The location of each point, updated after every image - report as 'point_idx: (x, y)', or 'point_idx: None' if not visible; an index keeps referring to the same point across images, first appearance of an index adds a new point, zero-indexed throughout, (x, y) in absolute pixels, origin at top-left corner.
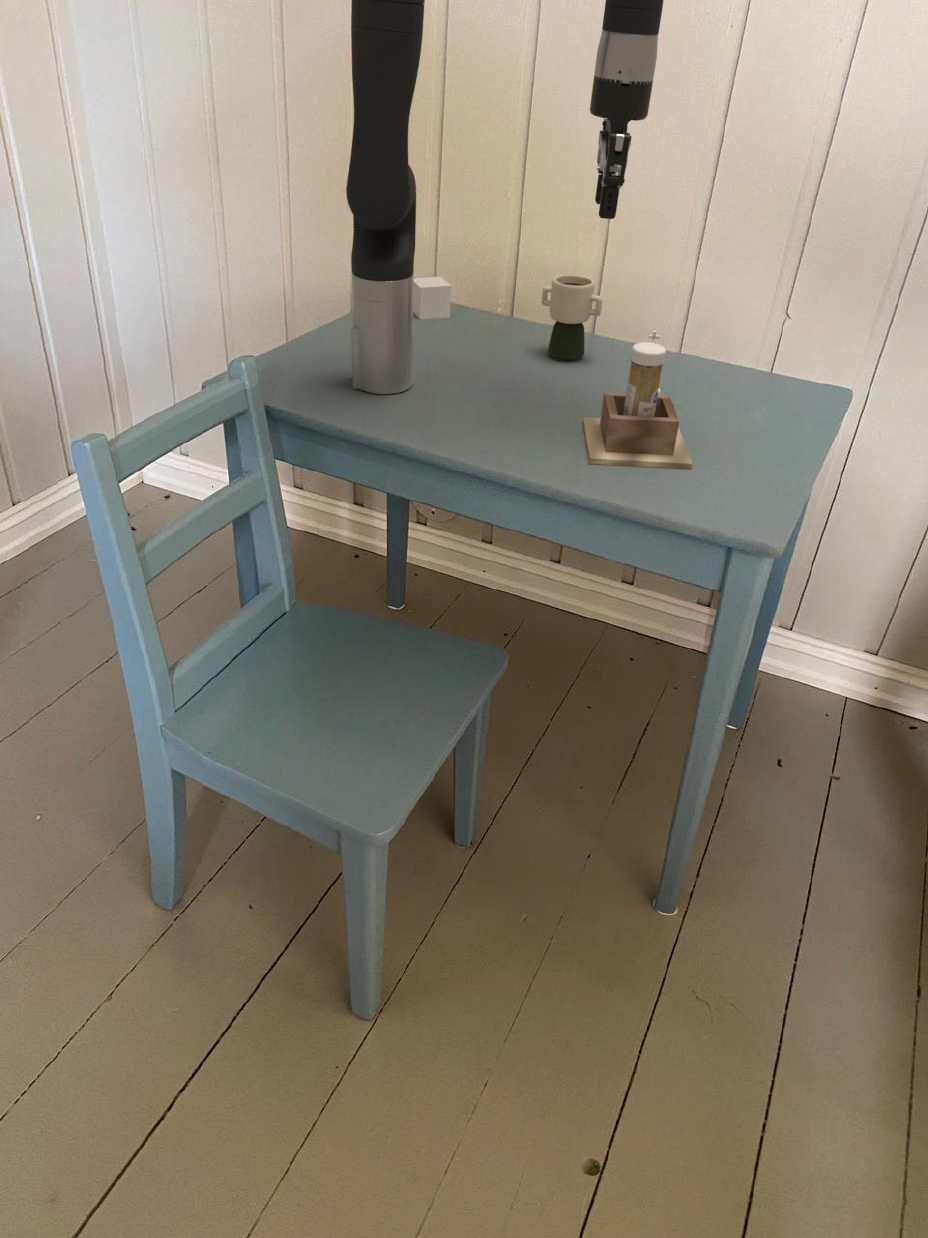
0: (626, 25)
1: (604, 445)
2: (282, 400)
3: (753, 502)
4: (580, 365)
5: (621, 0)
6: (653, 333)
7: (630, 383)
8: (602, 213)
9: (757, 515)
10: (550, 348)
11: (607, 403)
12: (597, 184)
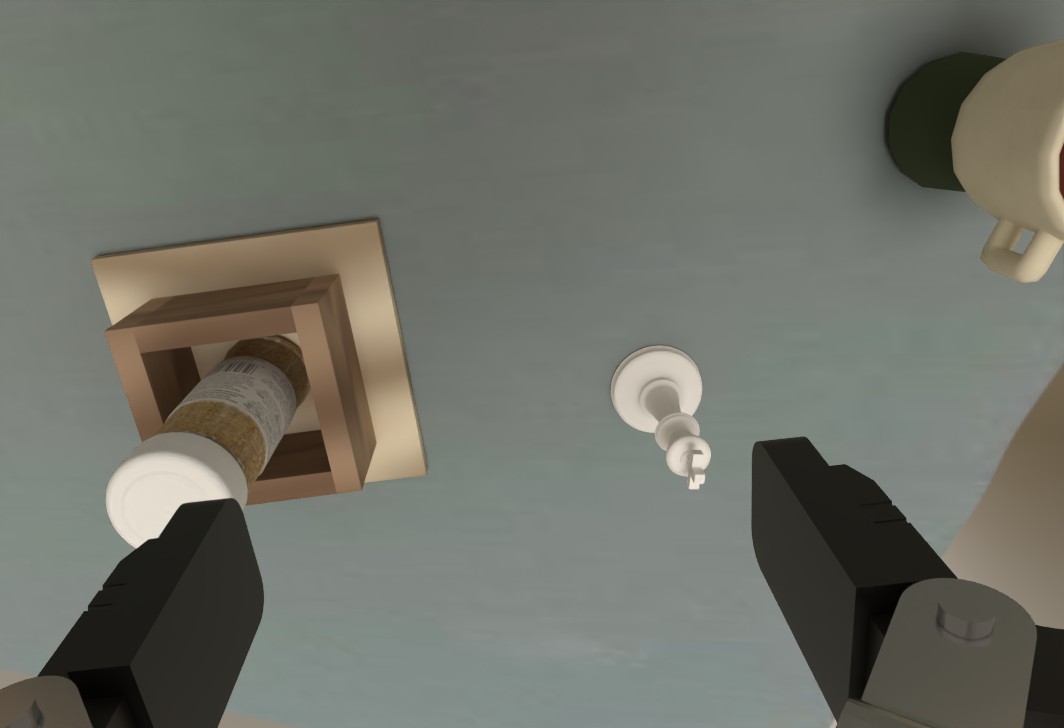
0: None
1: (187, 294)
2: None
3: (64, 616)
4: (861, 181)
5: None
6: (693, 472)
7: (180, 408)
8: (149, 541)
9: (4, 620)
10: (945, 62)
11: (222, 317)
12: (820, 522)
